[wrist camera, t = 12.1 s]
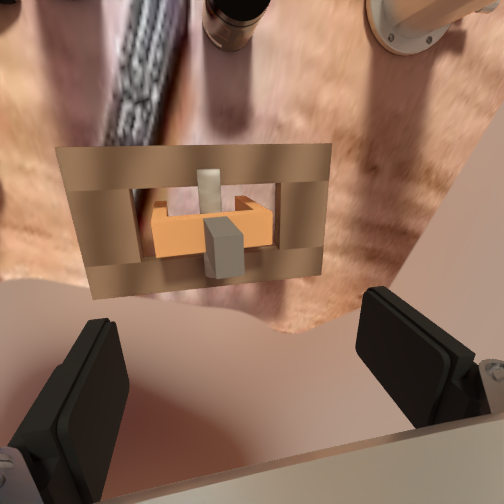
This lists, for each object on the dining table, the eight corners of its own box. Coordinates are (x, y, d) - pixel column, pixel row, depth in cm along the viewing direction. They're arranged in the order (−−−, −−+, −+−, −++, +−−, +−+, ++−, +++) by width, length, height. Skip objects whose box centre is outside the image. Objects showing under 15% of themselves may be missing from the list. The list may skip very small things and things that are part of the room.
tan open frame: (290, 144, 37) (342, 143, 25) (287, 242, 42) (329, 283, 30) (99, 147, 33) (42, 147, 20) (121, 255, 38) (85, 310, 25)
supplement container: (262, 17, 32) (287, -28, 24) (235, 65, 33) (250, 37, 25) (219, -24, 30) (230, -90, 22) (191, 28, 31) (192, -15, 23)
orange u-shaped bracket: (244, 195, 33) (299, 228, 19) (245, 220, 34) (298, 267, 20) (155, 201, 30) (146, 244, 17) (158, 227, 31) (153, 288, 18)
